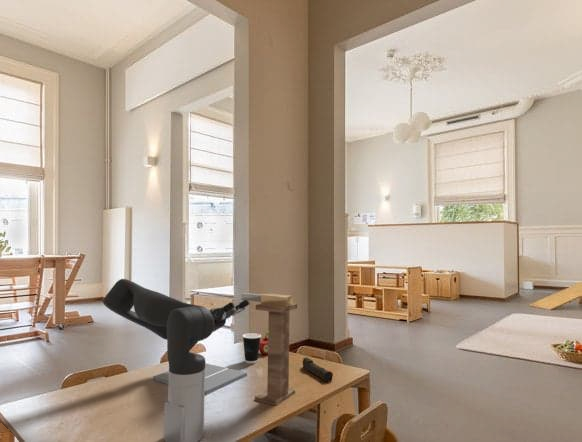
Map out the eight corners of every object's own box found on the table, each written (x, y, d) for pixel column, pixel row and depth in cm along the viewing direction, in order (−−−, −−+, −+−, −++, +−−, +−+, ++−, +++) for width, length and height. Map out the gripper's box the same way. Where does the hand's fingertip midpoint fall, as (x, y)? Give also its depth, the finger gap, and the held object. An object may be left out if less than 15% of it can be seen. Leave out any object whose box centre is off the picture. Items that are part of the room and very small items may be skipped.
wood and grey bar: (286, 306, 127) (286, 297, 127) (239, 301, 137) (239, 292, 137) (292, 305, 130) (292, 295, 131) (246, 300, 140) (246, 291, 140)
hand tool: (333, 382, 145) (333, 369, 145) (323, 383, 143) (324, 370, 143) (309, 367, 162) (309, 355, 162) (300, 368, 160) (300, 356, 160)
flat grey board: (206, 394, 130) (206, 390, 130) (153, 379, 144) (153, 376, 144) (246, 375, 149) (246, 372, 149) (196, 364, 163) (196, 360, 163)
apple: (270, 356, 175) (270, 333, 175) (255, 355, 176) (255, 333, 176) (273, 352, 182) (274, 330, 183) (259, 351, 183) (259, 329, 184)
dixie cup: (259, 358, 172) (259, 332, 172) (262, 364, 164) (262, 337, 164) (241, 359, 170) (241, 333, 170) (242, 365, 162) (243, 338, 163)
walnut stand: (278, 406, 122) (279, 308, 124) (252, 399, 127) (253, 305, 129) (297, 393, 132) (298, 303, 134) (272, 387, 137) (274, 300, 139)
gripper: (192, 315, 141) (223, 295, 134) (219, 309, 153) (248, 291, 146) (200, 335, 138) (231, 316, 132) (226, 328, 151) (256, 310, 144)
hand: (240, 303), depth 139 cm, fingers open, 8 cm apart
